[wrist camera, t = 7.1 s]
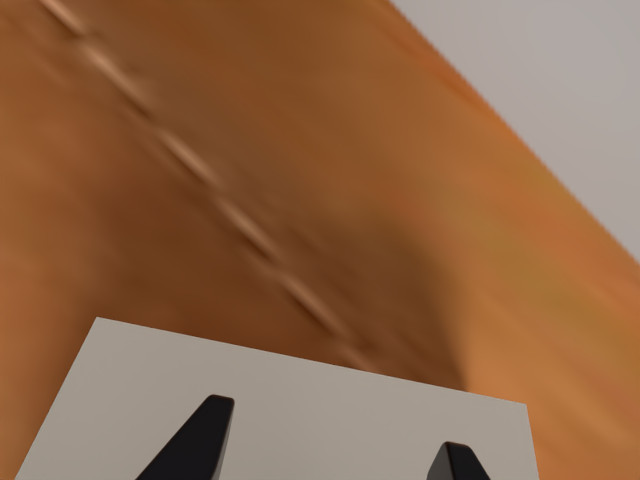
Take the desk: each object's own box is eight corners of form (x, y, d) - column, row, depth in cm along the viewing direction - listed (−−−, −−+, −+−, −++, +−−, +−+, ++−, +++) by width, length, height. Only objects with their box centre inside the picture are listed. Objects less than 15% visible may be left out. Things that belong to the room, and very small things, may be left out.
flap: (589, 868, 10) (903, 843, 6) (-110, 752, 10) (-312, 633, 6) (517, 415, 17) (642, 249, 13) (97, 330, 17) (80, 127, 12)
